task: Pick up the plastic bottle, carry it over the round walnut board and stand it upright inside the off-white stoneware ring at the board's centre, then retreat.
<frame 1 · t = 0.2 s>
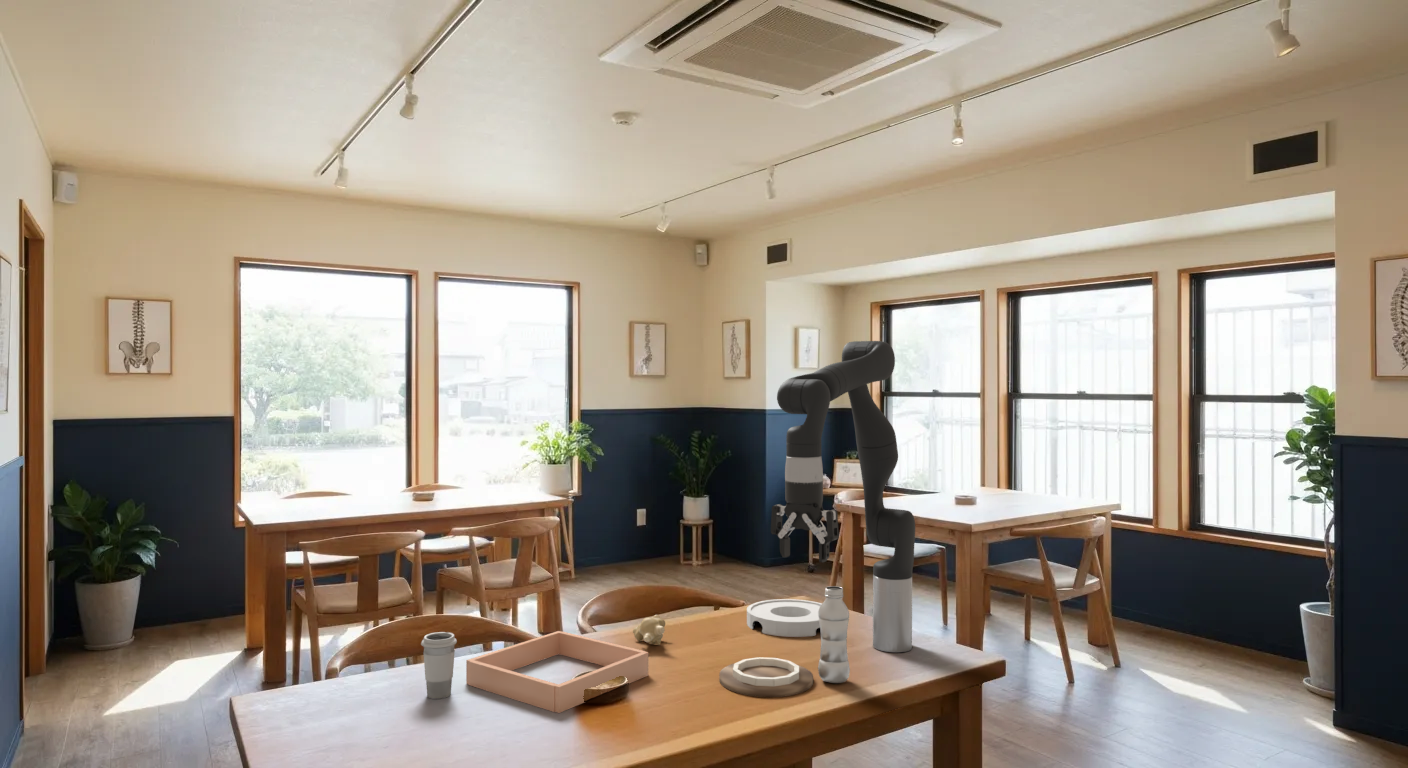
hand: (804, 559, 180), 28 cm above the table, fingers open, 8 cm apart
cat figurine: (650, 645, 216), on the table
ashtray: (790, 625, 235), on the table
plastic bottle: (833, 682, 191), on the table
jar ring: (766, 671, 191), on the walnut board, point 1 cm above the table
peach open square frame: (558, 679, 191), on the table
cup: (439, 695, 182), on the table
walnut board: (766, 680, 191), on the table
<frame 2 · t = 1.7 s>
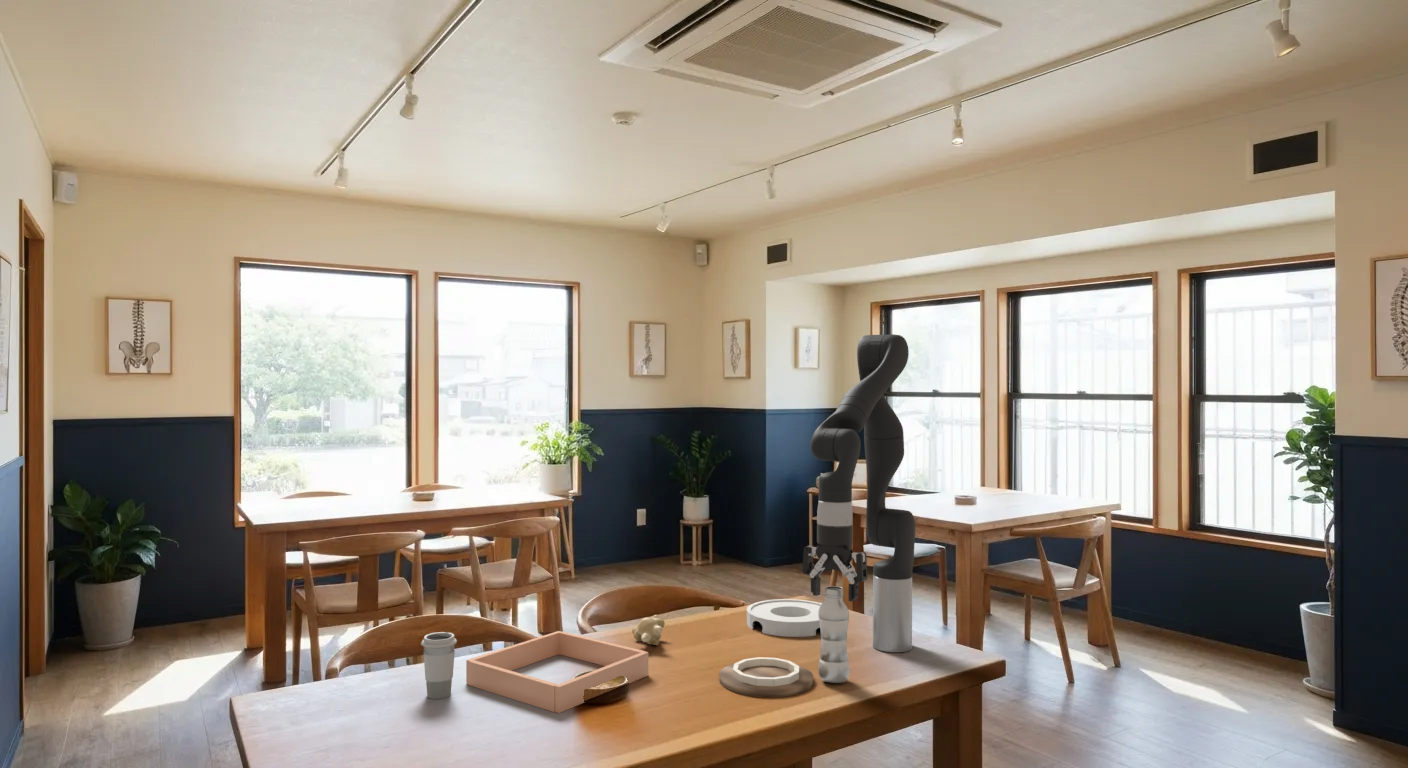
hand: (834, 597, 190), 18 cm above the table, fingers open, 8 cm apart
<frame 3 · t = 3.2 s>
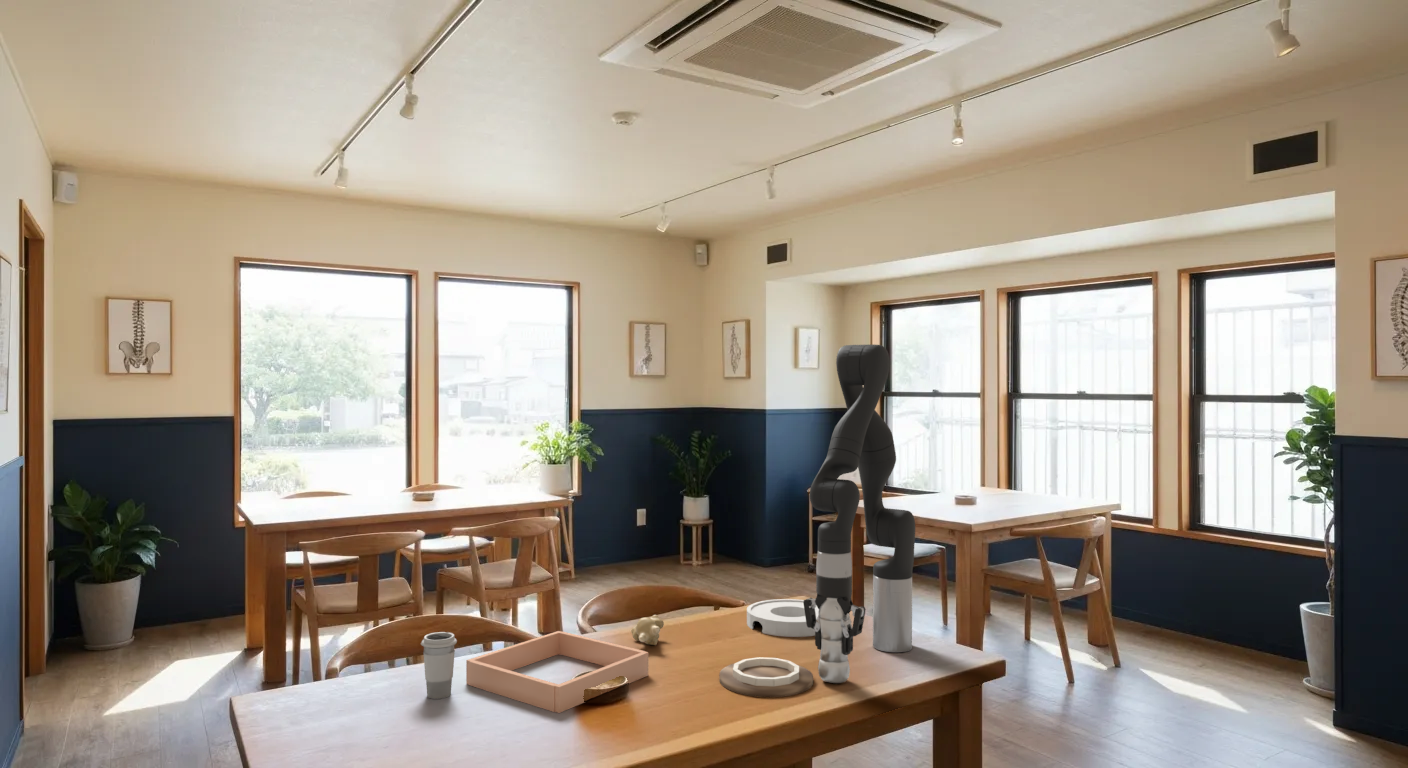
hand: (833, 651, 191), 7 cm above the table, fingers closed on plastic bottle, 5 cm apart
plastic bottle: (833, 682, 191), on the table, touching gripper
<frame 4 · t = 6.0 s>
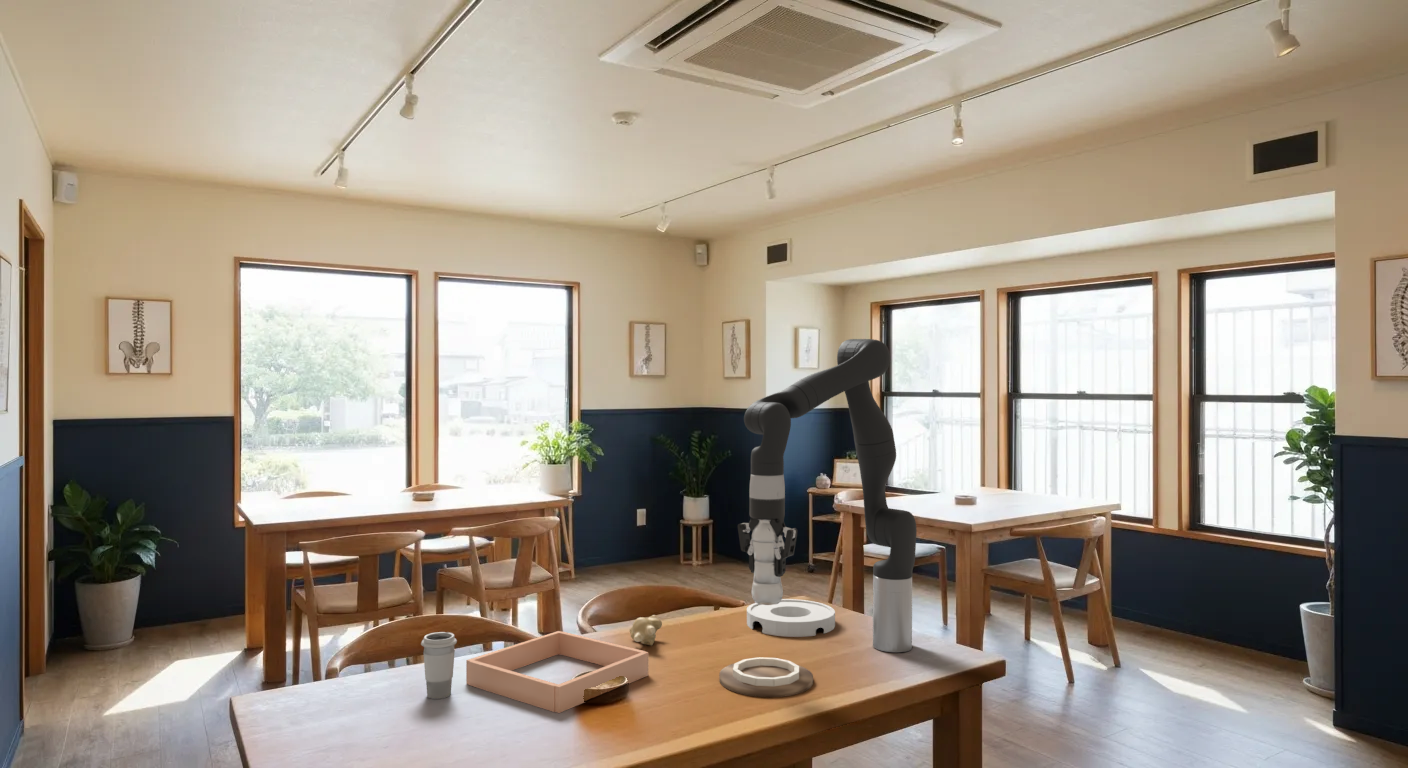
hand: (766, 573, 191), 23 cm above the table, fingers closed on plastic bottle, 5 cm apart
plastic bottle: (767, 605, 191), point 16 cm above the table, touching gripper
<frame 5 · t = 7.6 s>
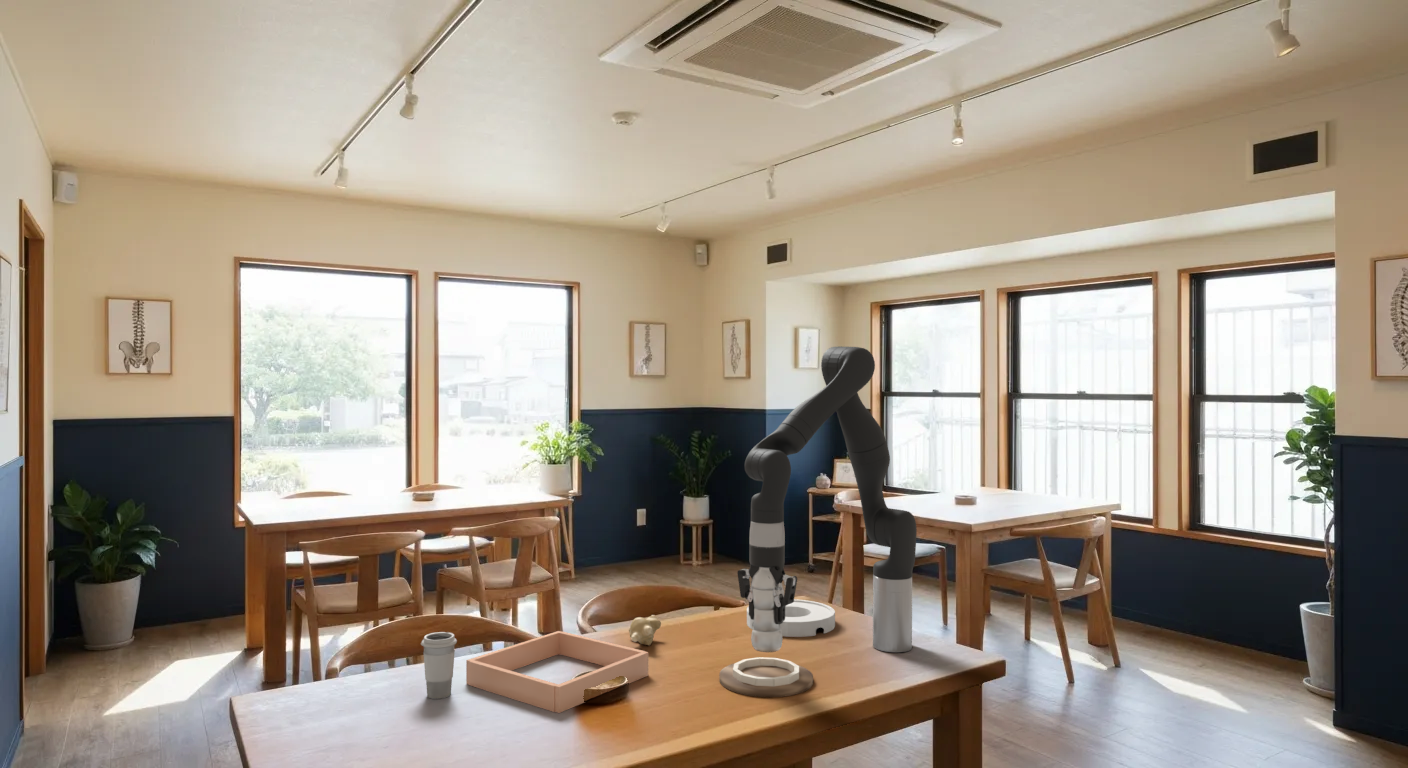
hand: (766, 620, 191), 13 cm above the table, fingers closed on plastic bottle, 5 cm apart
plastic bottle: (766, 652, 191), point 6 cm above the table, touching gripper
when the fingers open (9 cm above the table, at t = 8.9 s): plastic bottle drops 1 cm, resting on walnut board.
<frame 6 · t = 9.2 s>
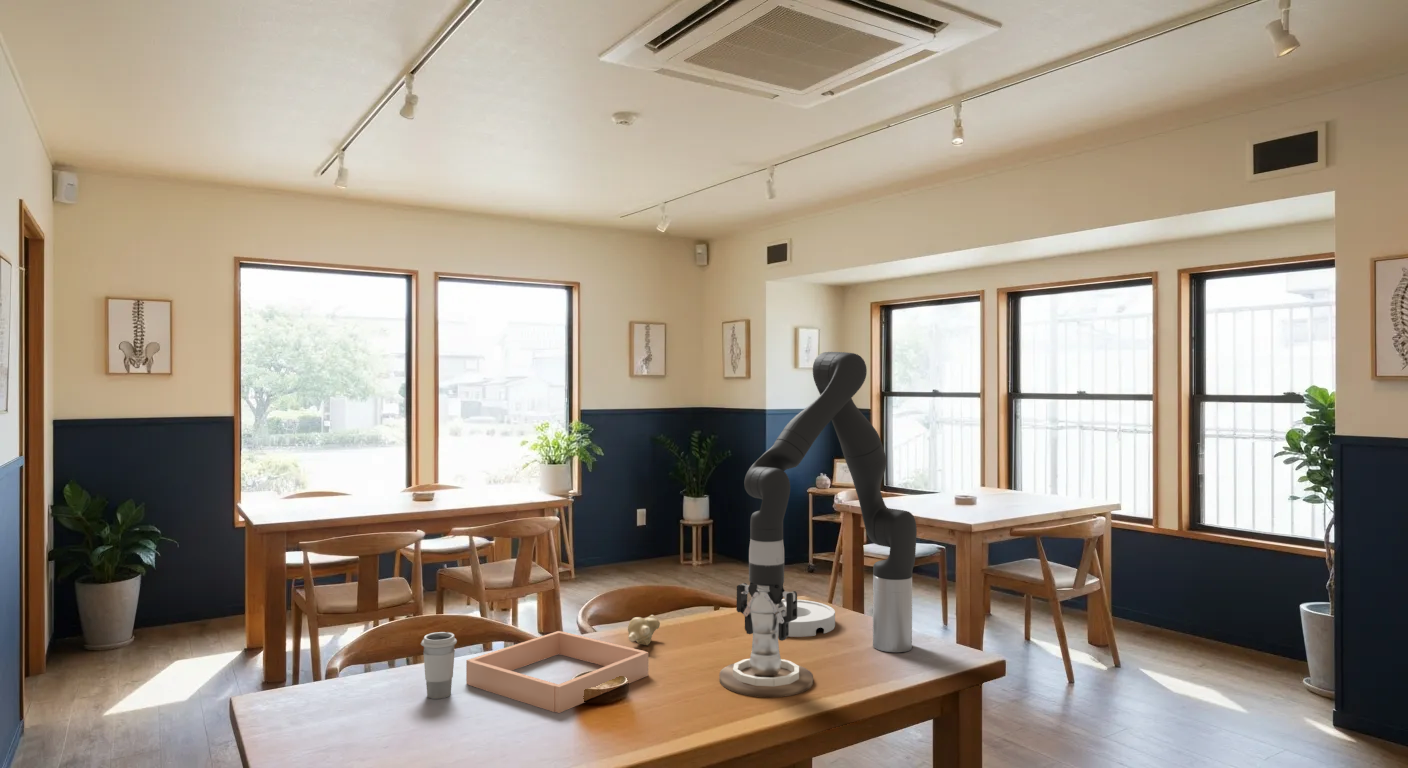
hand: (766, 636, 191), 9 cm above the table, fingers open, 7 cm apart
plastic bottle: (765, 675, 191), point 1 cm above the table, touching walnut board
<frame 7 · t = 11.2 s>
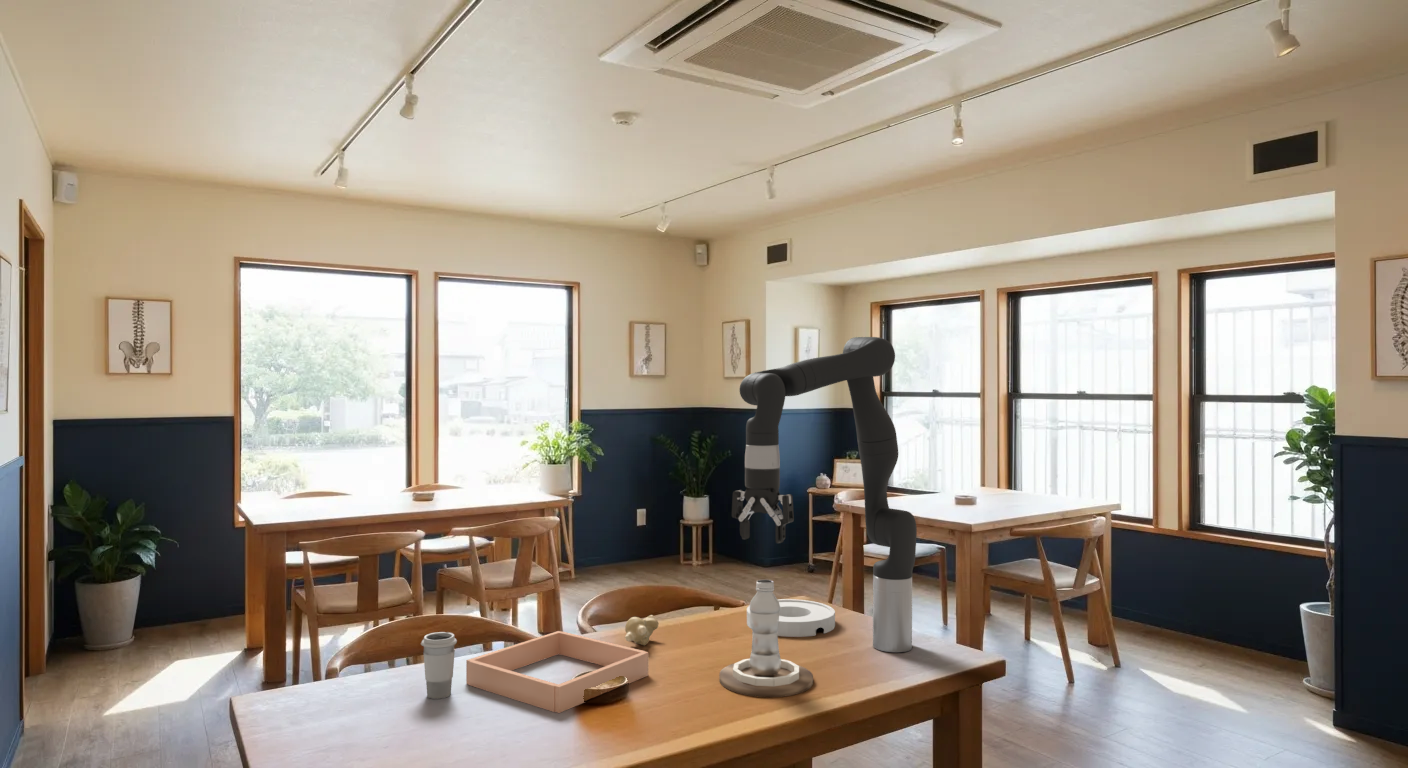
hand: (762, 540, 193), 30 cm above the table, fingers open, 8 cm apart
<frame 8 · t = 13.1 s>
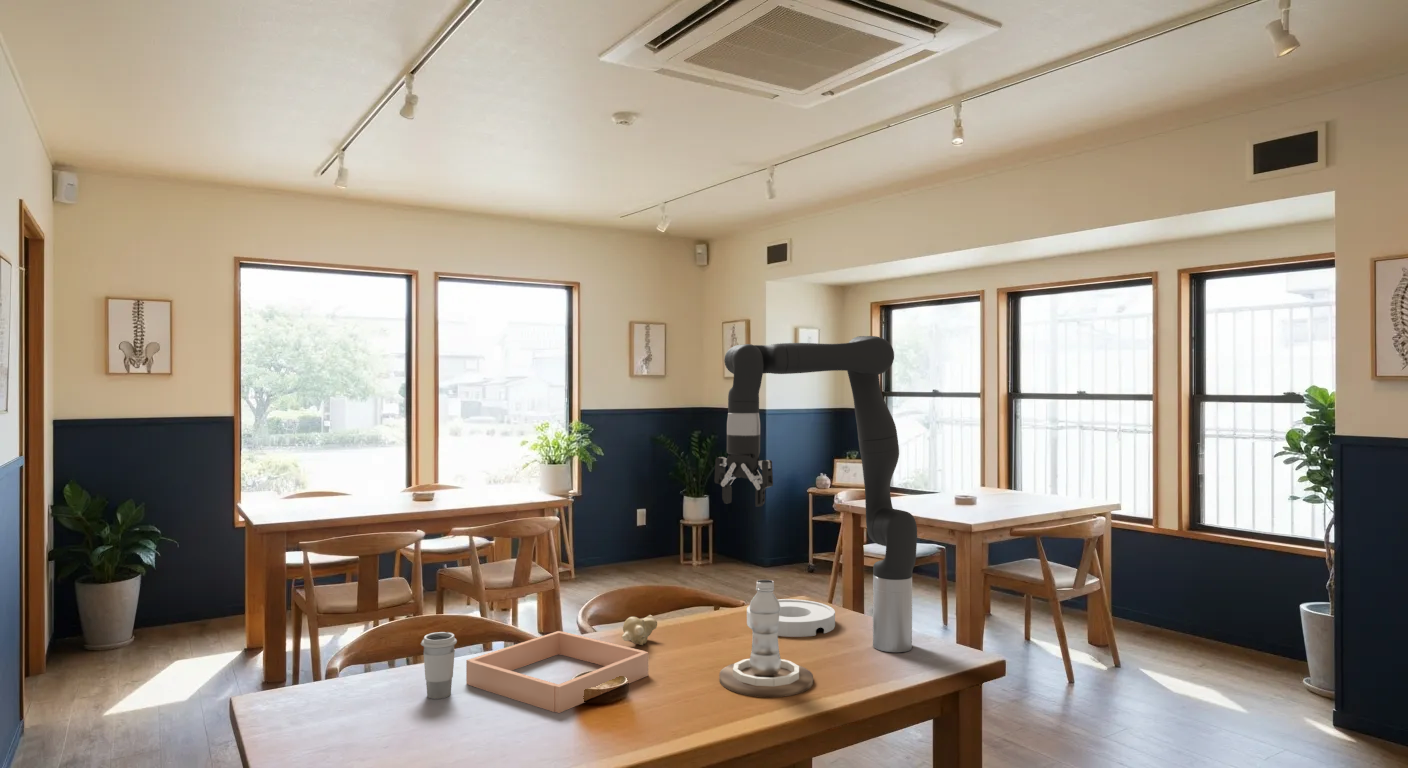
hand: (743, 504, 202), 36 cm above the table, fingers open, 8 cm apart
at the end: plastic bottle 0.2 cm from the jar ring (horizontally); plastic bottle tilted 0°; the gripper is holding nothing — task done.
